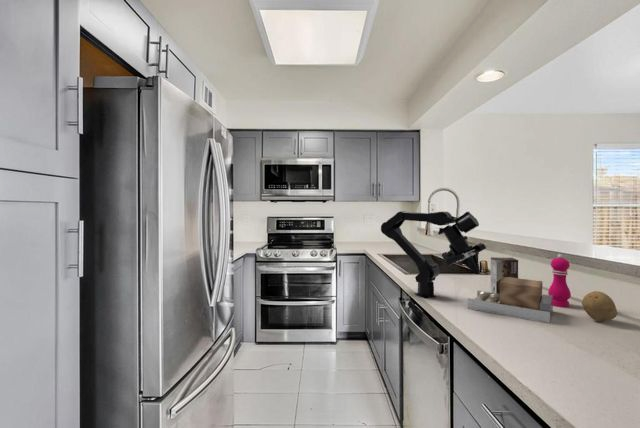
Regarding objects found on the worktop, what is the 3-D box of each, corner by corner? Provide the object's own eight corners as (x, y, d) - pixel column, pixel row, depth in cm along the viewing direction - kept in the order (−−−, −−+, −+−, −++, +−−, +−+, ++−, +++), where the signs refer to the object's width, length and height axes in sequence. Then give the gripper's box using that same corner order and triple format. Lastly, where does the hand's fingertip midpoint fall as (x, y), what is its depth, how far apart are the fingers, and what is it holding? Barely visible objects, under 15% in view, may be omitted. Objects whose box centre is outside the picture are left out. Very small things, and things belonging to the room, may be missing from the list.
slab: (499, 304, 121) (499, 282, 121) (505, 297, 131) (505, 276, 131) (539, 310, 114) (539, 287, 114) (542, 302, 124) (542, 281, 123)
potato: (579, 314, 119) (579, 287, 119) (611, 319, 115) (612, 290, 115) (583, 322, 111) (584, 292, 111) (618, 327, 107) (619, 296, 107)
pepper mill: (550, 306, 130) (551, 254, 129) (545, 301, 136) (547, 252, 136) (573, 308, 127) (574, 255, 126) (567, 303, 134) (568, 253, 133)
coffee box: (511, 293, 148) (512, 257, 147) (518, 297, 141) (519, 259, 141) (489, 293, 149) (490, 256, 148) (495, 297, 142) (496, 259, 142)
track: (467, 308, 126) (467, 292, 126) (477, 299, 139) (478, 284, 139) (549, 323, 111) (550, 305, 110) (552, 311, 123) (553, 295, 123)
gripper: (457, 241, 146) (477, 274, 141) (428, 253, 137) (448, 288, 132) (475, 229, 138) (498, 264, 132) (445, 241, 128) (468, 278, 123)
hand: (478, 273), depth 130 cm, fingers closed
